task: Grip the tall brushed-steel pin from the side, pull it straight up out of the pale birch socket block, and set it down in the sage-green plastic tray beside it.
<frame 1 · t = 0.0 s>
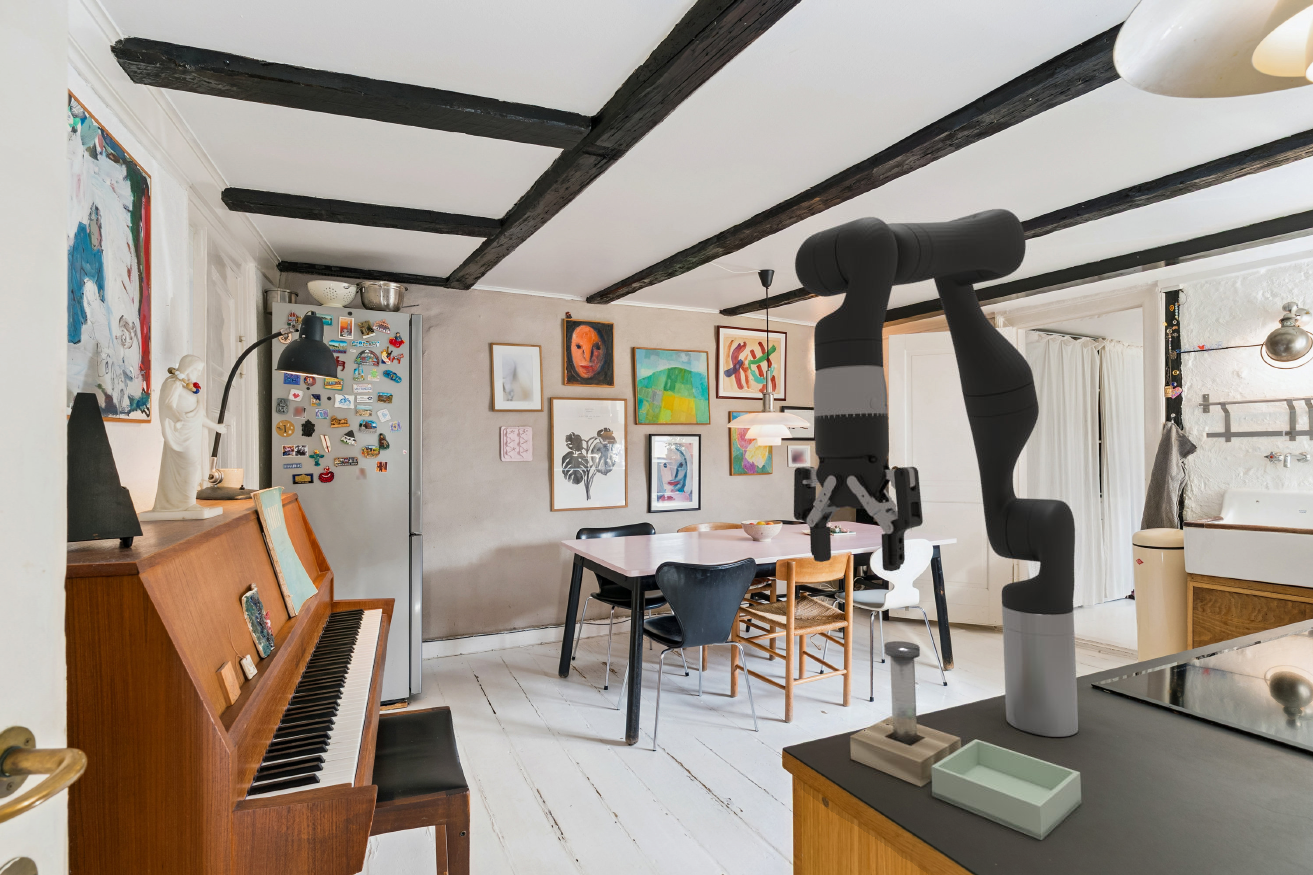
hand: (855, 565, 71), 29 cm above the kitchen island, tool pointing down, fingers open, 8 cm apart
green tray: (1005, 799, 78), on the kitchen island
steel pin: (903, 702, 89), in the socket block
socket block: (905, 759, 88), on the kitchen island
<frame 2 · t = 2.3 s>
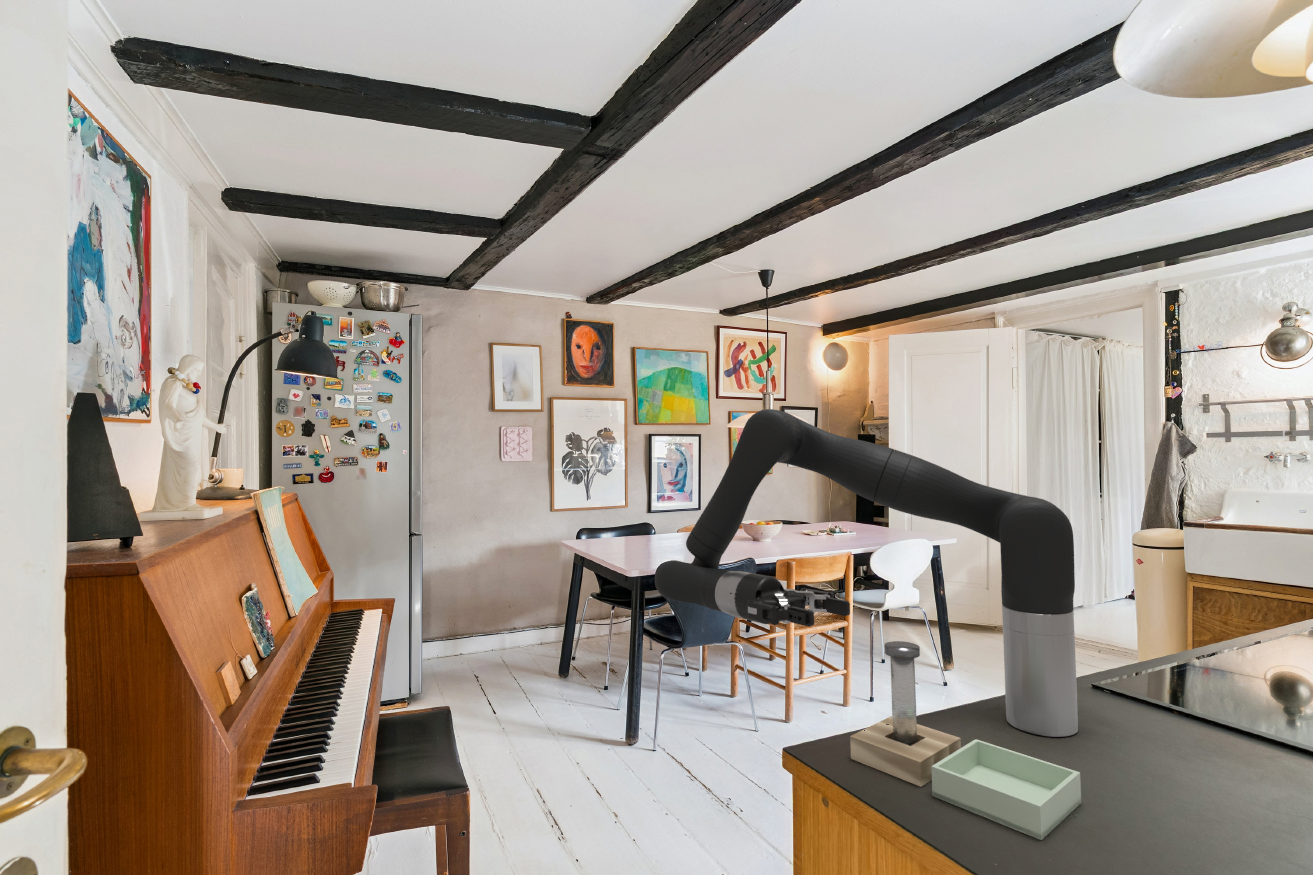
hand: (831, 613, 97), 17 cm above the kitchen island, tool horizontal, fingers open, 8 cm apart
nothing on the kitchen island moved.
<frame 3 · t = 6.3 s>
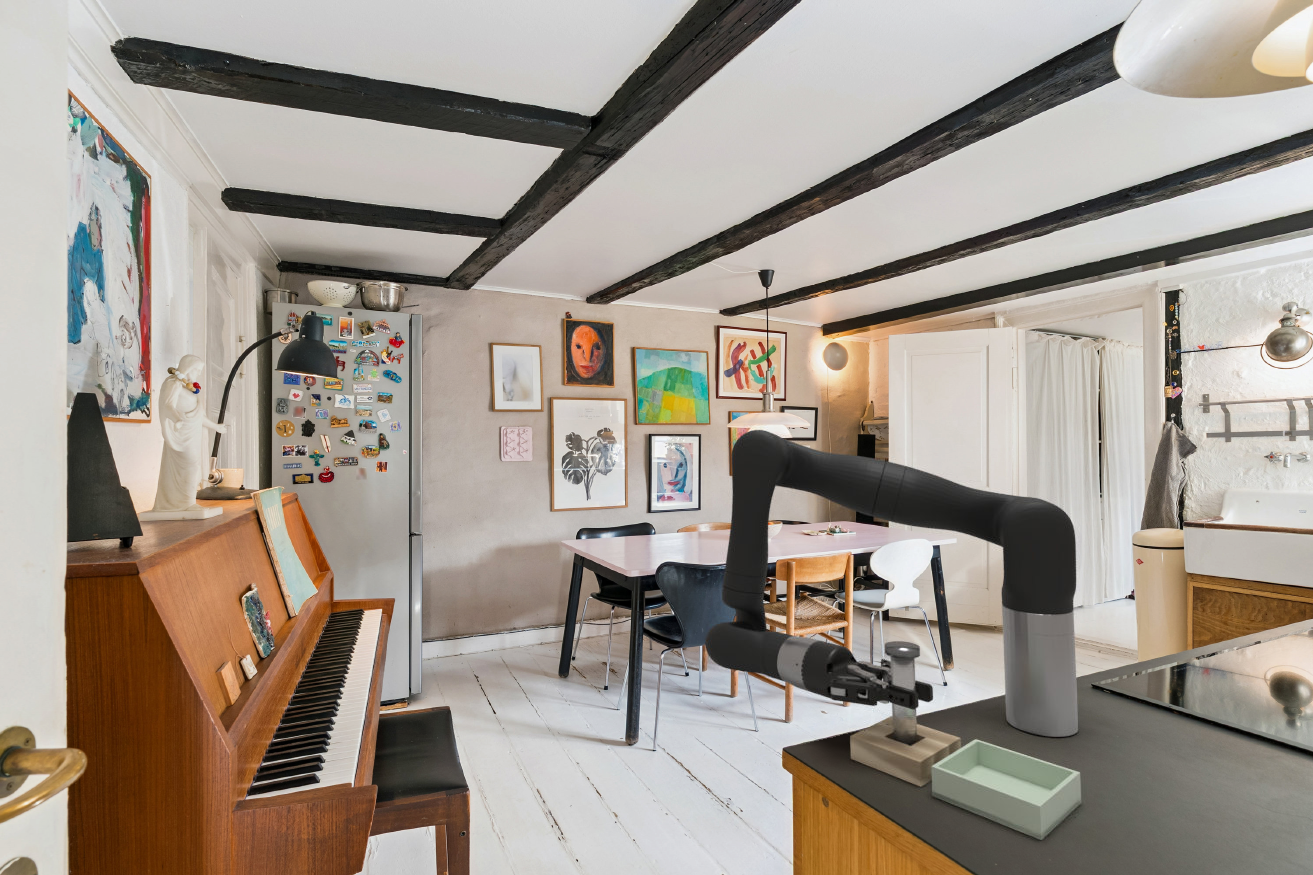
hand: (923, 697, 86), 9 cm above the kitchen island, tool horizontal, fingers closed on steel pin, 3 cm apart
steel pin: (903, 702, 89), in the socket block, touching gripper
when the fingers open (11 cm above the kitchen island, at t = 12.2 s): steel pin drops 1 cm, resting on green tray.
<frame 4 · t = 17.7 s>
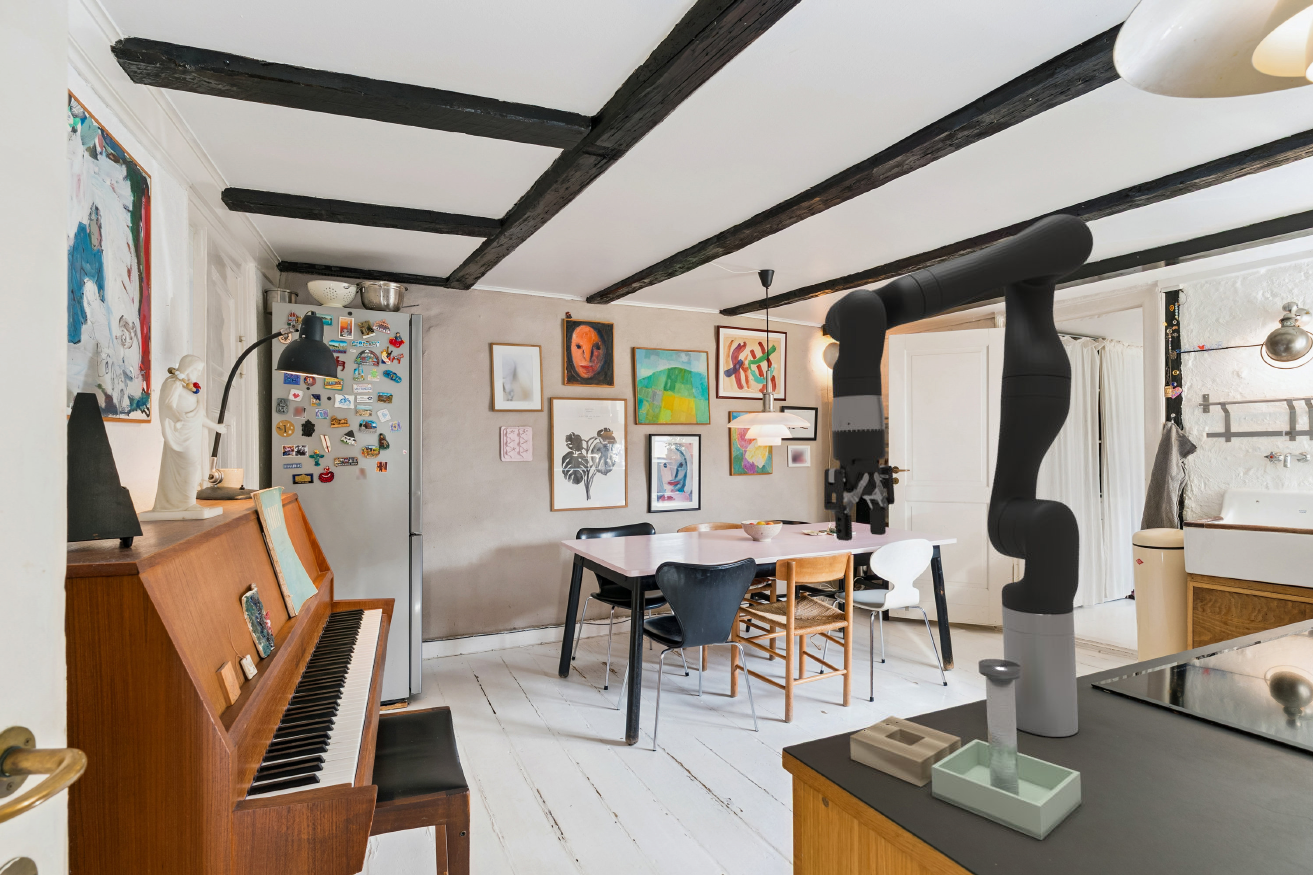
hand: (861, 537, 99), 28 cm above the kitchen island, tool pointing down, fingers open, 8 cm apart
steel pin: (1002, 729, 78), in the green tray, point 8 cm above the kitchen island
at the end: steel pin inside the target area on the green tray (0.1 cm from its centre), point 8.1 cm above the green tray's base; the gripper is holding nothing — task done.
